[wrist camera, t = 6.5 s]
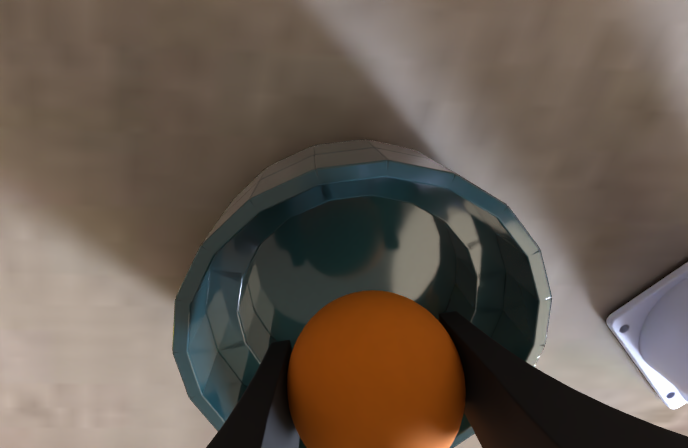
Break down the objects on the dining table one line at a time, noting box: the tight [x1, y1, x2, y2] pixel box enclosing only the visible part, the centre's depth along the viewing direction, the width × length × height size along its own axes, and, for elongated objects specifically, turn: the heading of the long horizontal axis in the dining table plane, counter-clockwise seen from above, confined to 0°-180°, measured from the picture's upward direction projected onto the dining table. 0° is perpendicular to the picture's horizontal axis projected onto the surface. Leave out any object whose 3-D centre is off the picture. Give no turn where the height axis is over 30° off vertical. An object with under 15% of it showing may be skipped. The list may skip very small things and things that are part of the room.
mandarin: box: [287, 290, 466, 448], centre depth 11 cm, size 5×5×6 cm
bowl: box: [172, 139, 552, 448], centre depth 14 cm, size 13×13×5 cm
